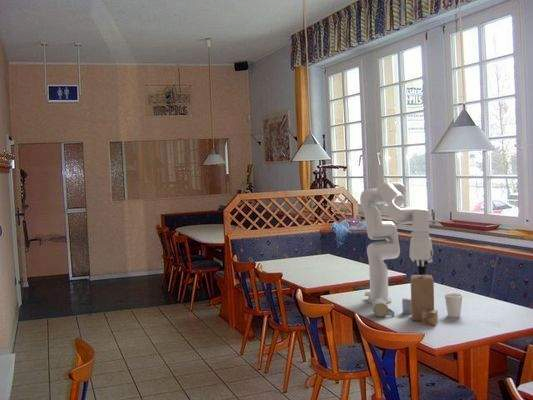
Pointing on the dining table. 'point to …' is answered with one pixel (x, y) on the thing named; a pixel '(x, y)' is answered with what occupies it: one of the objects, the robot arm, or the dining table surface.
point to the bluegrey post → (406, 305)
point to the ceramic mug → (381, 308)
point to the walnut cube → (429, 317)
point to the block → (421, 295)
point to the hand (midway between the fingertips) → (422, 274)
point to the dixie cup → (453, 304)
